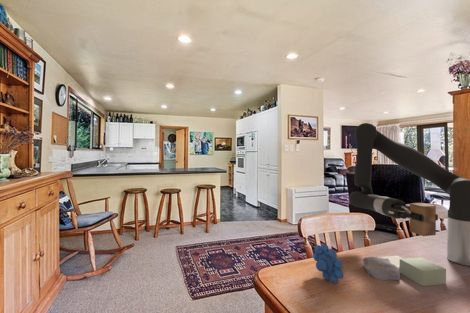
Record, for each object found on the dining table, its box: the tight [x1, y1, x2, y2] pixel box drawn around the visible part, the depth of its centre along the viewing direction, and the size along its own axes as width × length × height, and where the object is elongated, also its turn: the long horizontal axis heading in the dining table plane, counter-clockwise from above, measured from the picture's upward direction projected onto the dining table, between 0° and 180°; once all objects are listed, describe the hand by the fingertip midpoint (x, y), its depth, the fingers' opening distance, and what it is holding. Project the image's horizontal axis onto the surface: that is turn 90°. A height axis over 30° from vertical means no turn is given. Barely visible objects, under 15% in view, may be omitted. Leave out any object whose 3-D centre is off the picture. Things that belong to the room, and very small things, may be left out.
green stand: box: [399, 256, 447, 287], centre depth 82 cm, size 9×9×5 cm
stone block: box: [362, 256, 401, 281], centre depth 87 cm, size 12×5×10 cm
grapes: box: [312, 243, 344, 284], centre depth 80 cm, size 12×7×12 cm, turn 33°
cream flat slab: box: [378, 255, 404, 269], centre depth 93 cm, size 10×9×1 cm
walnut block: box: [409, 202, 437, 237], centre depth 82 cm, size 5×5×10 cm
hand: (429, 218), depth 79 cm, fingers closed on walnut block, 5 cm apart
